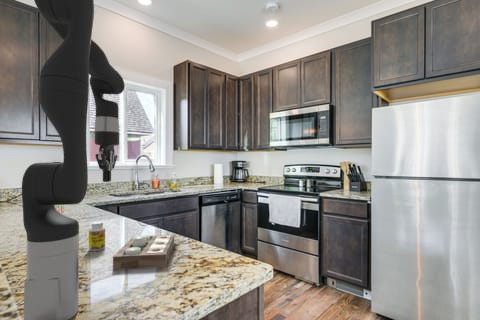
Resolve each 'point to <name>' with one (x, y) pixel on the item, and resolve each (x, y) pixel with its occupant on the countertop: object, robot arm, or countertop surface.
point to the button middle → (139, 241)
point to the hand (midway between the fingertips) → (107, 181)
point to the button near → (133, 250)
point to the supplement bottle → (96, 236)
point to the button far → (147, 237)
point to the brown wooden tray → (146, 254)
